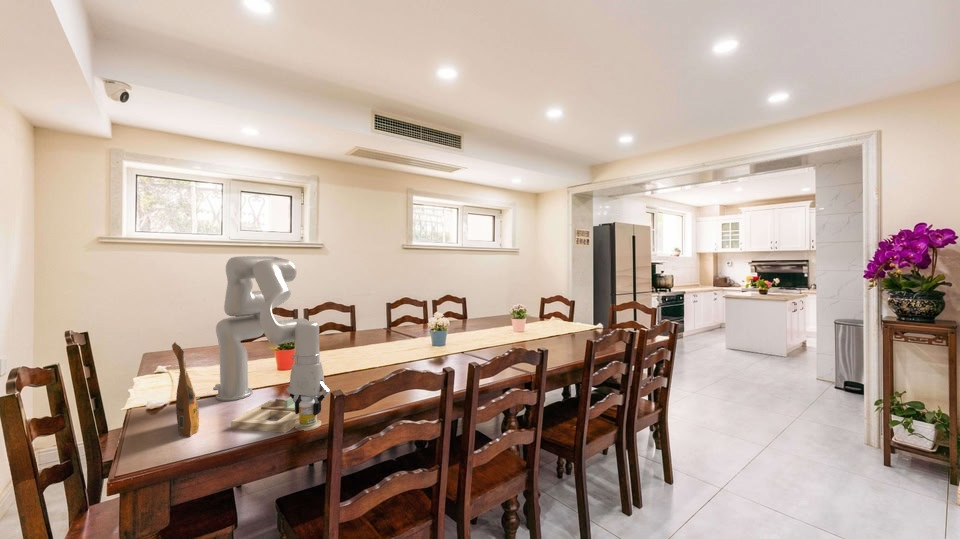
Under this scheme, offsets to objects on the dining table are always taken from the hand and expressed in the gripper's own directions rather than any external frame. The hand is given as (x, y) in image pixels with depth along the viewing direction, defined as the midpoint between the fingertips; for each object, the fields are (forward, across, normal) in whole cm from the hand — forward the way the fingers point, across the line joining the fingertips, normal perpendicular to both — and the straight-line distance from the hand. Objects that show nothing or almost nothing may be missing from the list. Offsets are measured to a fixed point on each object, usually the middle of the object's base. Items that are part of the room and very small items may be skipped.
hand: (308, 412), depth 134 cm
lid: (+2, -10, +9) cm, 13 cm away
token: (+5, -18, +9) cm, 21 cm away
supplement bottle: (+4, 0, 0) cm, 4 cm away
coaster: (+4, 0, 0) cm, 4 cm away
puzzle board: (+4, -14, +3) cm, 15 cm away
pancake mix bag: (+5, -38, -9) cm, 39 cm away
